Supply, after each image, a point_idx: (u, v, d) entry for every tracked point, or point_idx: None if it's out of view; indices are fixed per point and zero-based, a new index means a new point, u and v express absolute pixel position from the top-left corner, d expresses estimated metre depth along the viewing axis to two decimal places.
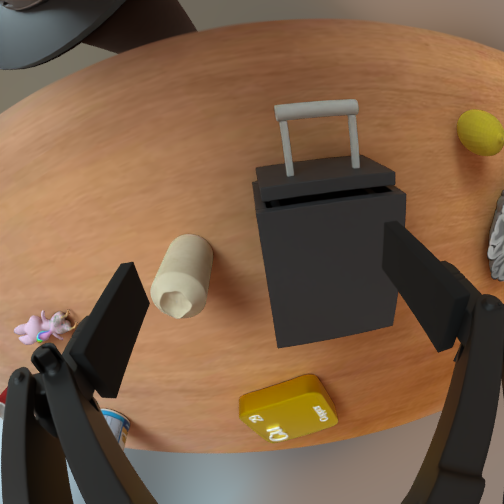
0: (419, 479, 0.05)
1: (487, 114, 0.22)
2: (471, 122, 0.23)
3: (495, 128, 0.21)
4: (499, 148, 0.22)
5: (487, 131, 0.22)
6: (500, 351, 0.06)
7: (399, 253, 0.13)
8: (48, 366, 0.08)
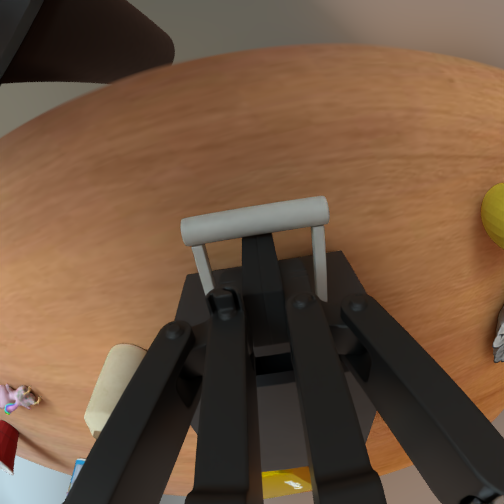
0: (313, 489, 0.06)
1: None
2: None
3: None
4: None
5: None
6: (331, 344, 0.08)
7: None
8: (221, 309, 0.10)
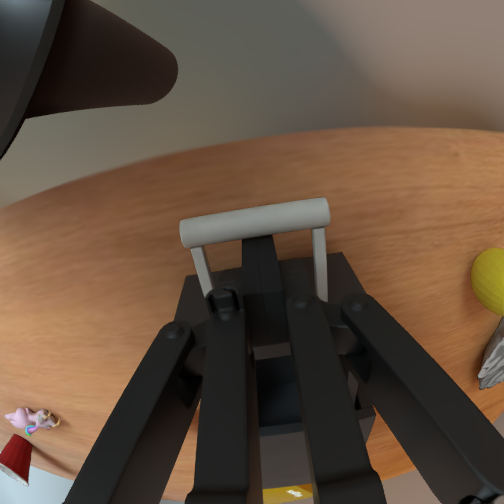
0: (313, 489, 0.06)
1: None
2: (491, 280, 0.18)
3: None
4: None
5: None
6: (331, 343, 0.08)
7: None
8: (221, 309, 0.10)
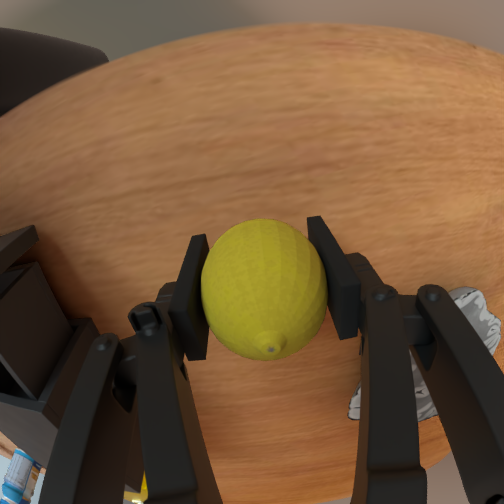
0: (357, 480, 0.05)
1: (247, 259, 0.11)
2: (202, 281, 0.12)
3: (246, 319, 0.10)
4: (280, 357, 0.11)
5: (222, 325, 0.10)
6: (403, 338, 0.08)
7: (315, 245, 0.14)
8: (145, 325, 0.10)
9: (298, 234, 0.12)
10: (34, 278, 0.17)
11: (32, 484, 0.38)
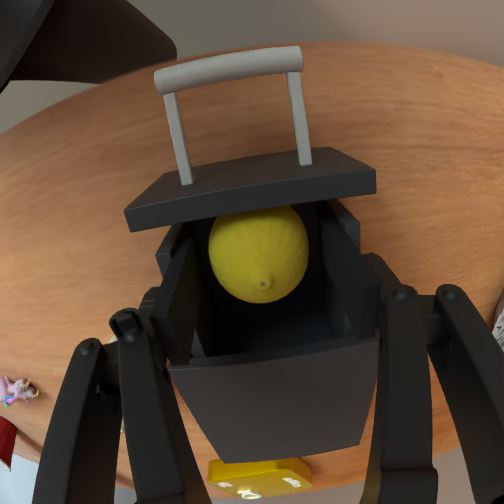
0: (368, 479, 0.05)
1: (245, 217, 0.14)
2: (210, 239, 0.16)
3: (244, 260, 0.13)
4: (271, 296, 0.14)
5: (225, 268, 0.14)
6: (422, 339, 0.07)
7: (329, 246, 0.14)
8: (126, 331, 0.10)
9: None
10: None
11: None
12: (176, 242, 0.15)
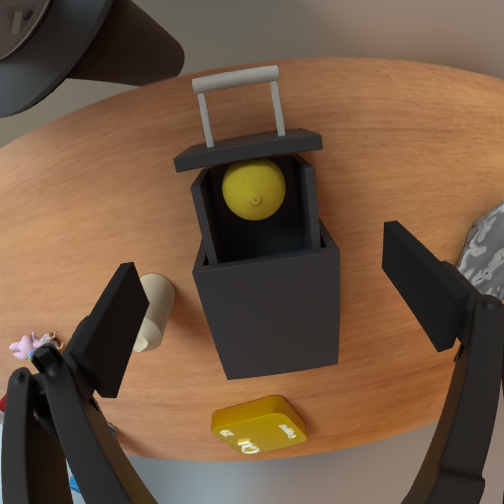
0: (419, 479, 0.05)
1: (245, 165, 0.23)
2: (224, 180, 0.25)
3: (244, 187, 0.23)
4: (261, 211, 0.24)
5: (233, 193, 0.23)
6: (500, 351, 0.06)
7: (399, 253, 0.13)
8: (47, 366, 0.08)
9: None
10: None
11: None
12: (202, 182, 0.25)
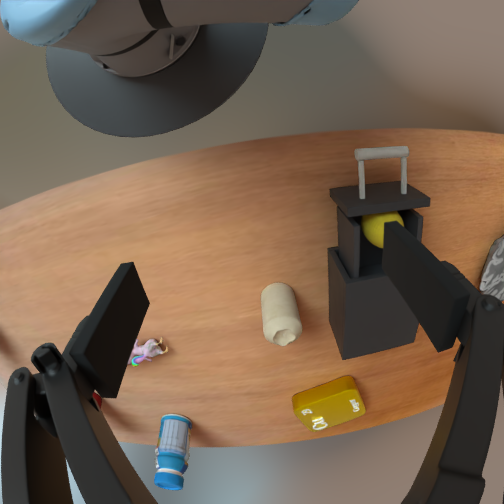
0: (419, 479, 0.05)
1: (385, 213, 0.34)
2: (368, 221, 0.35)
3: None
4: None
5: (380, 232, 0.34)
6: (500, 351, 0.06)
7: (399, 253, 0.13)
8: (48, 366, 0.08)
9: None
10: None
11: (188, 447, 0.61)
12: None
